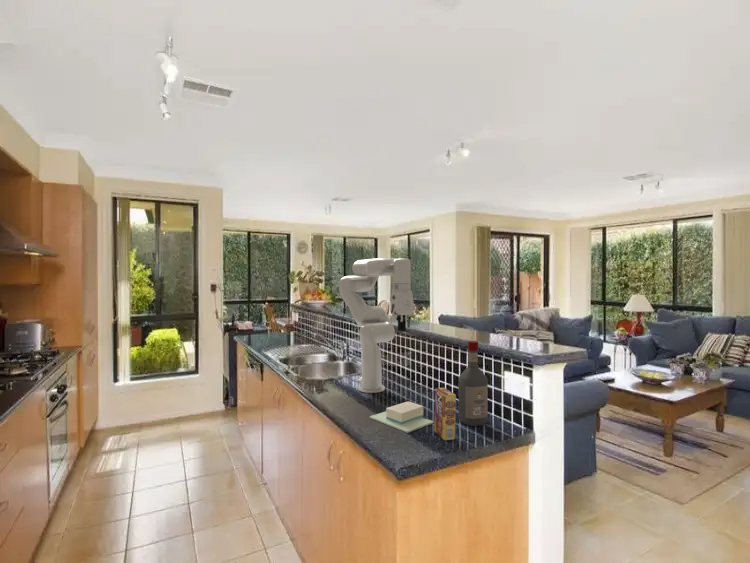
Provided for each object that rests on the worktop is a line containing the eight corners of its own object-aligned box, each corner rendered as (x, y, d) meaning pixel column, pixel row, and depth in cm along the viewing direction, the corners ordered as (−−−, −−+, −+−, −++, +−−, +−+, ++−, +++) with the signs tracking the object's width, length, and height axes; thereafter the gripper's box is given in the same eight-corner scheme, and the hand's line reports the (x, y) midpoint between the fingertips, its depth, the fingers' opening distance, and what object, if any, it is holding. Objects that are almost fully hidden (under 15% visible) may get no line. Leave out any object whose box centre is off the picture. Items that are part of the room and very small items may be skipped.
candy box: (456, 439, 137) (456, 394, 137) (444, 441, 136) (444, 395, 136) (445, 429, 146) (445, 387, 145) (434, 431, 145) (434, 388, 144)
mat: (369, 418, 158) (369, 416, 158) (395, 409, 167) (395, 408, 167) (407, 433, 143) (407, 431, 143) (433, 423, 152) (433, 421, 152)
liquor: (490, 424, 151) (490, 343, 150) (468, 427, 148) (468, 344, 147) (477, 416, 159) (477, 339, 159) (456, 418, 157) (456, 340, 156)
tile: (408, 411, 164) (386, 418, 155) (408, 401, 163) (386, 408, 155) (423, 416, 158) (401, 424, 150) (423, 406, 158) (401, 413, 149)
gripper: (395, 288, 167) (395, 333, 167) (420, 287, 177) (420, 330, 177) (382, 287, 172) (382, 331, 173) (407, 286, 182) (407, 328, 183)
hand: (401, 330), depth 175 cm, fingers closed
